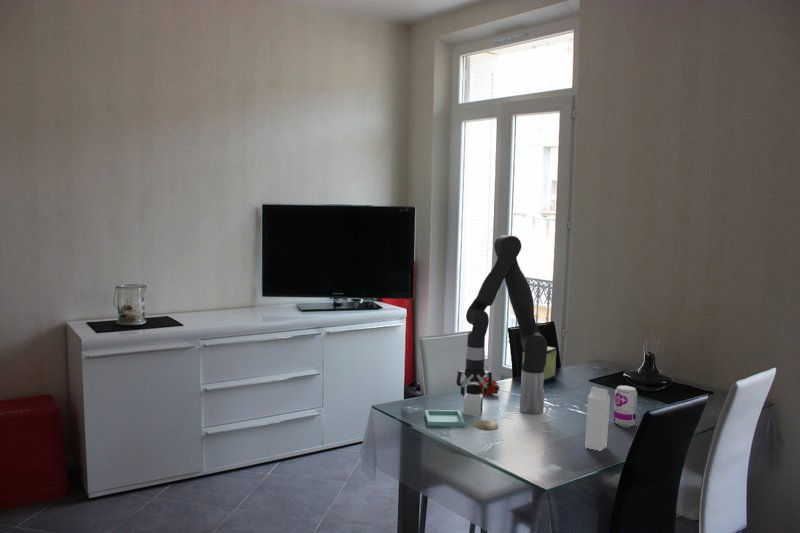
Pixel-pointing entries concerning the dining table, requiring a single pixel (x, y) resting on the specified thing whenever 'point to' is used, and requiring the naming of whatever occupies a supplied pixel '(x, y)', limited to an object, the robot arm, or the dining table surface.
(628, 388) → the supplement can
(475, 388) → the medicine bottle
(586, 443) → the milk
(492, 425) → the cork coaster
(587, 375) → the dining table surface
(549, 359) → the protein box
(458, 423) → the tray
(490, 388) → the dragon fruit
